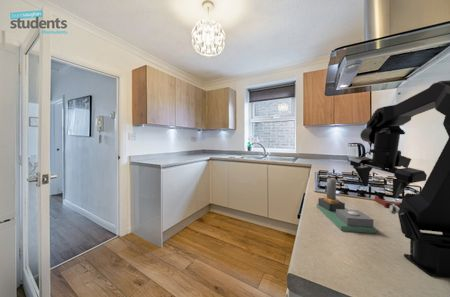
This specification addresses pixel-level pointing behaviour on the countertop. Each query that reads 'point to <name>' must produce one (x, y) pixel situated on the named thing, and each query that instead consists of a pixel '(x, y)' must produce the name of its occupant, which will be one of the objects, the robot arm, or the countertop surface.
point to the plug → (331, 191)
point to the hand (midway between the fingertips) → (379, 191)
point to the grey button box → (354, 218)
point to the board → (342, 225)
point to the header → (331, 205)
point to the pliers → (388, 204)
